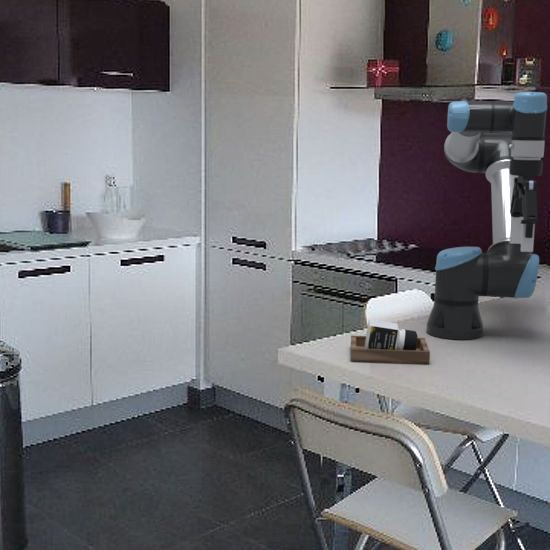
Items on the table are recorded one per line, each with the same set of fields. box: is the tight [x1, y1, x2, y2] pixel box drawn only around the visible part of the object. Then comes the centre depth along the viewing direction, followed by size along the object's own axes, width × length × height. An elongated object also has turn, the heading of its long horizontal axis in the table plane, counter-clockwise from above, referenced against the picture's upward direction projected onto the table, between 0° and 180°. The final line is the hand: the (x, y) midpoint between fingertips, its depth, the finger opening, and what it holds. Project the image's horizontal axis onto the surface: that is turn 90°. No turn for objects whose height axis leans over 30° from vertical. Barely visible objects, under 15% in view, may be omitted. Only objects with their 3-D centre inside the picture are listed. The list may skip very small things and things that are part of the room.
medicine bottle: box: [365, 318, 419, 350], centre depth 204 cm, size 7×7×12 cm
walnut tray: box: [350, 335, 431, 365], centre depth 206 cm, size 13×18×3 cm
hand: (520, 247), depth 204 cm, fingers open, 13 cm apart
